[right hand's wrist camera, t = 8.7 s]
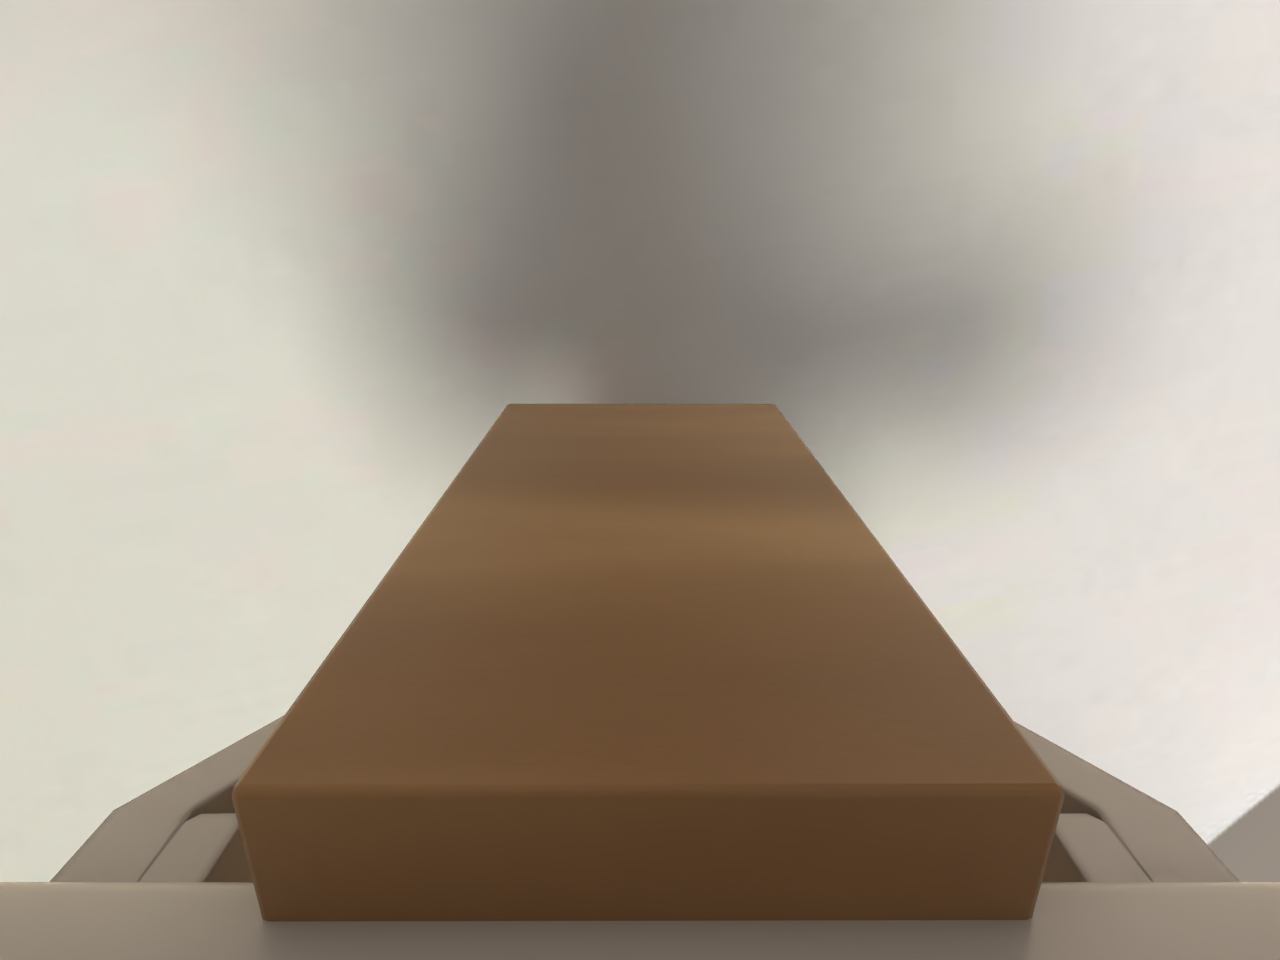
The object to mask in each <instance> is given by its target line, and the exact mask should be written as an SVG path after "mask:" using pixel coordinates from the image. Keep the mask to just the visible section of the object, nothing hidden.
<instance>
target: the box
mask: <svg viewBox="0 0 1280 960" xmlns="http://www.w3.org/2000/svg"><path fill="white" fill-rule="evenodd" d="M1063 801H1064V792H1063V788H1062V785H1061V784H1060V783H1059V781H1058V780H1057V779H1056V777H1055V776H1054V775H1053V773H1052V772H1051V771H1050V769H1049V768H1048V767H1047V765H1046V764H1045V763H1044V761H1043V760H1042V759H1041V757H1040V756H1039V755H1038V753H1037V752H1036V751H1035V749H1034V748H1033V747H1032V745H1031V744H1030V743H1029V741H1028V740H1027V739H1026V737H1025V736H1024V735H1023V733H1022V732H1021V731H1020V729H1019V728H1018V727H1017V725H1016V724H1015V723H1014V721H1013V720H1012V719H1011V717H1010V716H1009V715H1008V714H1007V712H1006V711H1005V710H1004V708H1003V707H1002V706H1001V704H1000V703H999V702H998V700H997V699H996V698H995V696H994V695H993V694H992V692H991V691H990V690H989V688H988V687H987V686H986V684H985V683H984V682H983V680H982V679H981V678H980V676H979V675H978V674H977V672H976V671H975V670H974V668H973V667H972V666H971V664H970V663H969V662H968V660H967V659H966V658H965V656H964V655H963V654H962V652H961V651H960V650H959V648H958V647H957V646H956V644H955V643H954V642H953V640H952V639H951V638H950V636H949V635H948V634H947V632H946V631H945V630H944V629H943V627H942V626H941V625H940V623H939V622H938V621H937V619H936V618H935V617H934V615H933V614H932V613H931V611H930V610H929V609H928V607H927V606H926V605H925V603H924V602H923V601H922V599H921V598H920V597H919V595H918V594H917V593H916V591H915V590H914V589H913V587H912V586H911V585H910V583H909V582H908V581H907V579H906V578H905V577H904V575H903V574H902V573H901V571H900V570H899V569H898V567H897V566H896V565H895V563H894V562H893V561H892V559H891V558H890V557H889V555H888V554H887V553H886V551H885V550H884V549H883V547H882V546H881V545H880V544H879V542H878V541H877V540H876V538H875V537H874V536H873V534H872V533H871V532H870V530H869V529H868V528H867V526H866V525H865V524H864V522H863V521H862V520H861V518H860V517H859V516H858V514H857V513H856V512H855V510H854V509H853V508H852V506H851V505H850V504H849V502H848V501H847V500H846V498H845V497H844V496H843V494H842V493H841V492H840V490H839V489H838V488H837V486H836V485H835V484H834V482H833V481H832V480H831V478H830V477H829V476H828V474H827V473H826V472H825V470H824V469H823V468H822V466H821V465H820V464H819V462H818V461H817V460H816V459H815V457H814V456H813V455H812V453H811V452H810V451H809V449H808V448H807V447H806V445H805V444H804V443H803V441H802V440H801V439H800V437H799V436H798V435H797V433H796V432H795V431H794V429H793V428H792V427H791V425H790V424H789V423H788V421H787V420H786V419H785V417H784V416H783V415H782V413H781V412H780V411H779V409H778V408H777V407H776V405H774V404H509V405H507V406H506V408H505V409H504V411H503V412H502V413H501V415H500V416H499V418H498V419H497V420H496V422H495V423H494V425H493V426H492V427H491V429H490V430H489V432H488V433H487V434H486V436H485V437H484V439H483V440H482V441H481V443H480V444H479V446H478V447H477V448H476V450H475V451H474V452H473V454H472V455H471V457H470V458H469V459H468V461H467V462H466V464H465V465H464V466H463V468H462V469H461V471H460V472H459V473H458V475H457V476H456V478H455V479H454V480H453V482H452V483H451V485H450V486H449V487H448V489H447V490H446V491H445V493H444V494H443V496H442V497H441V498H440V500H439V501H438V503H437V504H436V505H435V507H434V508H433V510H432V511H431V512H430V514H429V515H428V517H427V518H426V519H425V521H424V522H423V524H422V525H421V526H420V528H419V529H418V530H417V532H416V533H415V535H414V536H413V537H412V539H411V540H410V542H409V543H408V544H407V546H406V547H405V549H404V550H403V551H402V553H401V554H400V556H399V557H398V558H397V560H396V561H395V563H394V564H393V565H392V567H391V568H390V569H389V571H388V572H387V574H386V575H385V576H384V578H383V579H382V581H381V582H380V583H379V585H378V586H377V588H376V589H375V590H374V592H373V593H372V595H371V596H370V597H369V599H368V600H367V602H366V603H365V604H364V606H363V607H362V609H361V610H360V611H359V613H358V614H357V615H356V617H355V618H354V620H353V621H352V622H351V624H350V625H349V627H348V628H347V629H346V631H345V632H344V634H343V635H342V636H341V638H340V639H339V641H338V642H337V643H336V645H335V646H334V648H333V649H332V650H331V652H330V653H329V654H328V656H327V657H326V659H325V660H324V661H323V663H322V664H321V666H320V667H319V668H318V670H317V671H316V673H315V674H314V675H313V677H312V678H311V680H310V681H309V682H308V684H307V685H306V687H305V688H304V689H303V691H302V692H301V693H300V695H299V696H298V698H297V699H296V700H295V702H294V703H293V705H292V706H291V707H290V709H289V710H288V712H287V713H286V714H285V716H284V717H283V719H282V720H281V721H280V723H279V724H278V726H277V727H276V728H275V730H274V731H273V733H272V734H271V735H270V737H269V738H268V739H267V741H266V742H265V744H264V745H263V746H262V748H261V749H260V751H259V752H258V753H257V755H256V756H255V758H254V759H253V760H252V762H251V763H250V765H249V766H248V767H247V769H246V770H245V772H244V773H243V774H242V776H241V777H240V778H239V780H238V781H237V783H236V784H235V785H234V788H233V792H232V802H233V806H234V810H235V814H236V818H237V821H238V825H239V829H240V833H241V837H242V841H243V845H244V849H245V853H246V857H247V861H248V864H249V868H250V872H251V876H252V880H253V884H254V888H255V892H256V896H257V900H258V904H259V907H260V911H261V915H262V919H264V920H266V921H268V922H271V921H798V920H1028V919H1030V918H1032V916H1033V912H1034V908H1035V904H1036V901H1037V897H1038V893H1039V890H1040V886H1041V882H1042V878H1043V875H1044V871H1045V867H1046V864H1047V860H1048V856H1049V852H1050V849H1051V845H1052V841H1053V838H1054V834H1055V830H1056V826H1057V823H1058V819H1059V815H1060V812H1061V808H1062V804H1063Z"/></svg>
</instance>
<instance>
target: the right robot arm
mask: <svg viewBox="0 0 1280 960" xmlns="http://www.w3.org/2000/svg"><path fill="white" fill-rule="evenodd" d="M284 716H285V715H284ZM284 716H282V717H281V718H279V719H277V720H275V721H274V722H272V723H270V724H268V725H266V726H265V727H263V728H261V729H259V730H257V731H256V732H254V733H252V734H250V735H248V736H247V737H245V738H243V739H241V740H239V741H238V742H236V743H234V744H232V745H230V746H229V747H227V748H225V749H223V750H221V751H220V752H218V753H216V754H214V755H212V756H211V757H209V758H207V759H205V760H203V761H202V762H200V763H198V764H196V765H194V766H193V767H191V768H189V769H187V770H185V771H184V772H182V773H180V774H178V775H176V776H175V777H173V778H171V779H169V780H167V781H166V782H164V783H162V784H160V785H158V786H157V787H155V788H153V789H151V790H149V791H148V792H146V793H144V794H142V795H140V796H139V797H137V798H135V799H133V800H131V801H130V802H128V803H126V804H124V805H122V806H121V807H119V808H117V809H115V810H113V812H112V813H111V814H110V815H109V816H108V817H107V818H106V819H105V821H104V822H103V823H102V824H101V825H100V826H99V827H98V828H97V830H96V831H95V832H94V833H93V834H92V835H91V836H90V837H89V838H88V840H87V841H86V842H85V843H84V844H83V845H82V846H81V847H80V849H79V850H78V851H77V852H76V853H75V854H74V855H73V856H72V857H71V859H70V860H69V861H68V862H67V863H66V864H65V865H64V866H63V868H62V869H61V870H60V871H59V872H58V873H57V874H56V875H55V877H54V878H53V879H52V880H51V881H50V882H0V960H1280V882H1240V881H1239V880H1238V878H1237V877H1236V876H1235V875H1234V874H1233V873H1232V872H1231V871H1230V870H1229V868H1228V867H1227V866H1226V865H1225V864H1224V863H1223V862H1222V861H1221V860H1220V859H1219V857H1218V856H1217V855H1216V854H1215V853H1214V852H1213V851H1212V850H1211V849H1210V847H1209V846H1208V845H1207V844H1206V843H1205V842H1204V841H1203V840H1202V839H1201V837H1200V836H1199V835H1198V834H1197V833H1196V832H1195V831H1194V830H1193V829H1192V828H1191V826H1190V825H1189V824H1188V823H1187V822H1186V821H1185V820H1184V819H1183V818H1182V816H1181V815H1180V814H1179V813H1178V812H1177V811H1175V810H1173V809H1172V808H1170V807H1168V806H1166V805H1164V804H1162V803H1161V802H1159V801H1157V800H1155V799H1153V798H1152V797H1150V796H1148V795H1146V794H1144V793H1143V792H1141V791H1139V790H1137V789H1135V788H1134V787H1132V786H1130V785H1128V784H1126V783H1124V782H1123V781H1121V780H1119V779H1117V778H1115V777H1114V776H1112V775H1110V774H1108V773H1106V772H1105V771H1103V770H1101V769H1099V768H1097V767H1096V766H1094V765H1092V764H1090V763H1088V762H1086V761H1085V760H1083V759H1081V758H1079V757H1077V756H1076V755H1074V754H1072V753H1070V752H1068V751H1067V750H1065V749H1063V748H1061V747H1059V746H1058V745H1056V744H1054V743H1052V742H1050V741H1048V740H1047V739H1045V738H1043V737H1041V736H1039V735H1038V734H1036V733H1034V732H1032V731H1030V730H1029V729H1027V728H1025V727H1023V726H1021V725H1020V724H1018V723H1016V722H1014V723H1015V724H1016V725H1017V727H1018V728H1019V729H1020V731H1021V732H1022V733H1023V735H1024V736H1025V737H1026V739H1027V740H1028V741H1029V743H1030V744H1031V745H1032V747H1033V748H1034V749H1035V751H1036V752H1037V753H1038V755H1039V756H1040V757H1041V759H1042V760H1043V761H1044V763H1045V764H1046V765H1047V767H1048V768H1049V769H1050V771H1051V772H1052V773H1053V775H1054V776H1055V777H1056V779H1057V780H1058V781H1059V783H1060V784H1061V785H1062V788H1063V792H1064V801H1063V804H1062V808H1061V812H1060V815H1059V819H1058V823H1057V826H1056V830H1055V834H1054V838H1053V841H1052V845H1051V849H1050V852H1049V856H1048V860H1047V864H1046V867H1045V871H1044V875H1043V878H1042V882H1041V886H1040V890H1039V893H1038V897H1037V901H1036V904H1035V908H1034V912H1033V916H1032V918H1030V919H1028V920H798V921H271V922H268V921H266V920H264V919H262V915H261V911H260V907H259V904H258V900H257V896H256V892H255V888H254V884H253V880H252V876H251V872H250V868H249V864H248V861H247V857H246V853H245V849H244V845H243V841H242V837H241V833H240V829H239V825H238V821H237V818H236V814H235V810H234V806H233V802H232V792H233V788H234V785H235V784H236V783H237V781H238V780H239V778H240V777H241V776H242V774H243V773H244V772H245V770H246V769H247V767H248V766H249V765H250V763H251V762H252V760H253V759H254V758H255V756H256V755H257V753H258V752H259V751H260V749H261V748H262V746H263V745H264V744H265V742H266V741H267V739H268V738H269V737H270V735H271V734H272V733H273V731H274V730H275V728H276V727H277V726H278V724H279V723H280V721H281V720H282V719H283V717H284Z"/></svg>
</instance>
